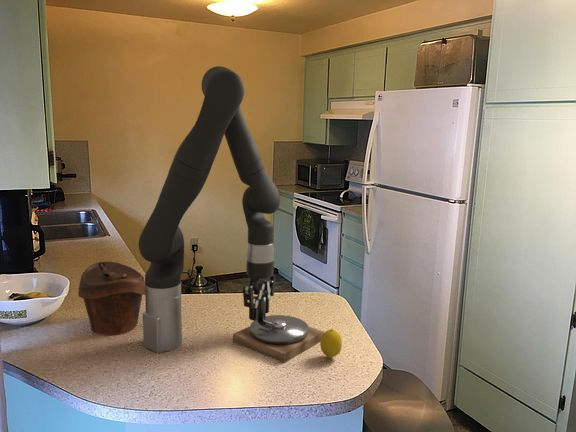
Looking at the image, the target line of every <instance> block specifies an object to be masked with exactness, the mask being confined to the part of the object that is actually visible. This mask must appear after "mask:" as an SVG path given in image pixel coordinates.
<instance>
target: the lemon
mask: <svg viewBox="0 0 576 432" xmlns="http://www.w3.org/2000/svg"><path fill="white" fill-rule="evenodd" d="M319 343H320V349H321V352H322V354H323V355H325V356H326V357H328V358H329V359H332V358H334V357H336V356H338V355H339V354H340V352H341V350H342V347H343V339H342V336H341V334H340V332H339V331H337V330H336V329H334V328H330V329H327V330H326V331H324V333H323V335H322V338H321V342H319Z"/></svg>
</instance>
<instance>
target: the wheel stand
mask: <svg viewBox="0 0 576 432" xmlns="http://www.w3.org/2000/svg"><path fill="white" fill-rule="evenodd" d="M324 332H325V331H324V330H321V329H318V328H315V327H311V326H309V325H308V335H307V337H306V338H305V339H303V340H301V341H299V342H296V343H291V344H269V343H264V342H261V341H259V340H257V339H255V338H254V337H252V335H251V333H250V325H249V326H247V327H245V328H243V329H241V330H238V331H236V332H234V333H233V334H232V343H234V344H236V345H238V346H241V347H242V348H246V349H248V350H251V351H253V352H255V353H258V354H261V355H262V356H266V357H268V358H270V359H273V360H275V361H278V362H281V363H283V364H285V363H287V362H289V361H290V360H292V359H294V358H295V357H297V356H298V355H300V354H302V353H304V352H306V351H308V350H309V349H310V348H313V347H314V346H316V345H317V344H319V343H321V338H322V335H323V333H324Z"/></svg>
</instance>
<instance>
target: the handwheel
mask: <svg viewBox="0 0 576 432" xmlns="http://www.w3.org/2000/svg"><path fill="white" fill-rule="evenodd" d="M266 314H267V313H266V296H264V295H261V299H260V300H259V301H258V305H257V320H255V321H253V320H252V322H251V324H250V325H249V326H250V333H251V335H252V337H254V338H255V339H257V340H259V341H261V342H264V343H269V344H291V343H296V342H299V341H301V340H303V339H305V338H306V337H307V335H308V326H309V325H308V324H307V323H306V321H305V320H302V319H300V318H299V317H295V316H292V315H283V314H282V315H281V314H274V315H273V314H272V315H266Z"/></svg>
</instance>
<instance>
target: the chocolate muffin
mask: <svg viewBox="0 0 576 432" xmlns="http://www.w3.org/2000/svg"><path fill="white" fill-rule="evenodd" d="M78 285H79V286H78V289H77V290H78V293H77V295H78V297H80V298H81V299H83V302H84V306H85V309H86V313H87V317H88V322H89V323H90V328H91V331H92V332H93V333H94V334H97V335H102V336H118V335H123V334H127V333H128V332H130V331H132V330H135V328H136V327H137V325H138V322H139V316H140V310H141V309H140V308H141V305H142V301H143V296H145V276H143V275H142V274H141V273H140V272H139V271H137V270H136V269H134V268H132V267H130V266H128V265H125V264H122V263H119V262H114V261H98V262H95V263H94V264H91V265H90V266H89V267H87V268H86V269H85V270H84V271H83V272H82V274H81V276H80V279H79V283H78Z"/></svg>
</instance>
